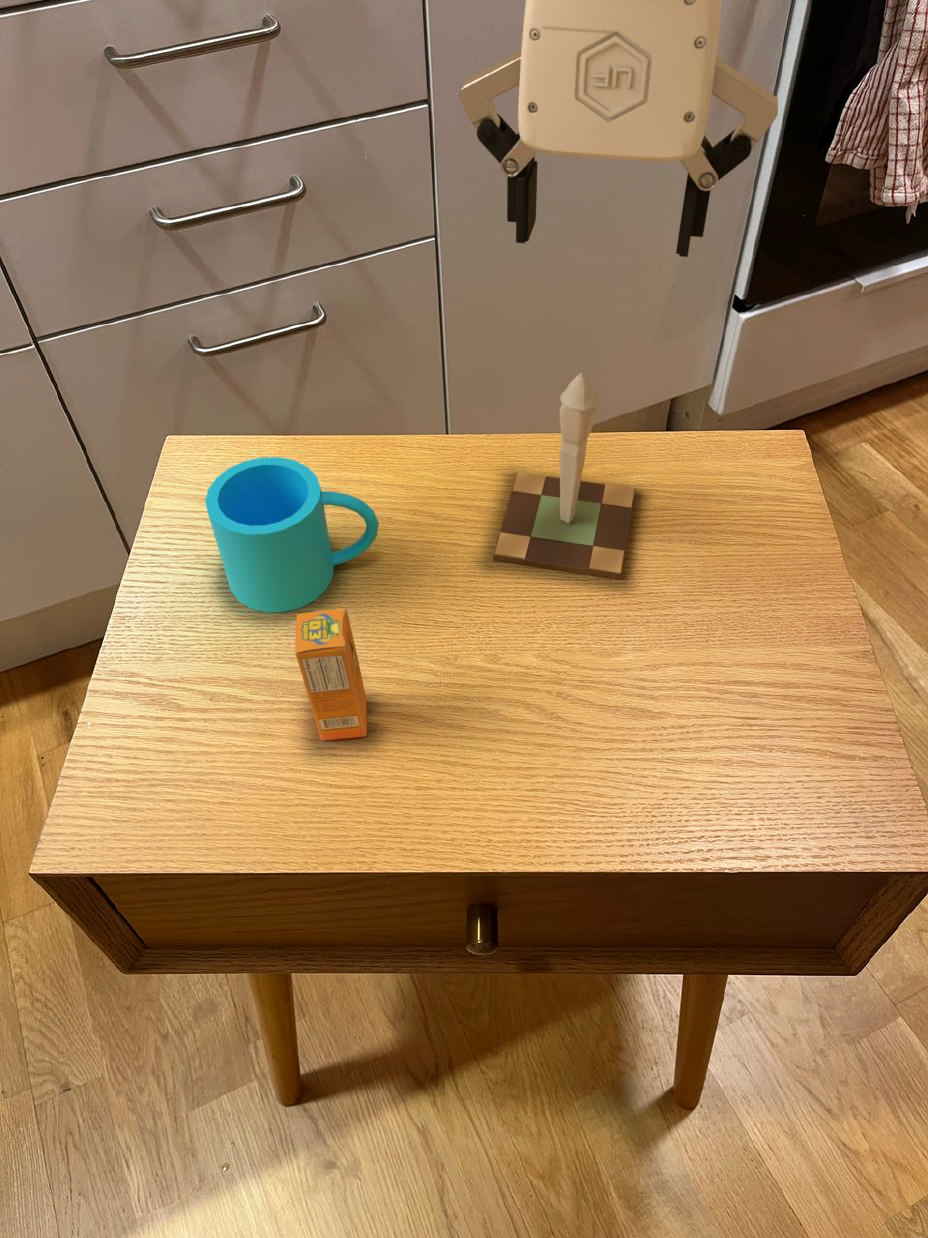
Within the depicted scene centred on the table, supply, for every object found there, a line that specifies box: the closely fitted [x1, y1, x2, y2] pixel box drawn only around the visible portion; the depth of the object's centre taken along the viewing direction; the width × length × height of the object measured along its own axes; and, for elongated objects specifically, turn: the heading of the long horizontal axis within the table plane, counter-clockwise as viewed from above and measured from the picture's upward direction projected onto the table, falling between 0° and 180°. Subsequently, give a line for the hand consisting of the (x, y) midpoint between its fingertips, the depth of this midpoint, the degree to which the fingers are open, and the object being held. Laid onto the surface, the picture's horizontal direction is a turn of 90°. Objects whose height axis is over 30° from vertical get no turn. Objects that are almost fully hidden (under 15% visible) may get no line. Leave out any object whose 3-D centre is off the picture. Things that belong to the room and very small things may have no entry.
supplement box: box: [294, 607, 368, 742], centre depth 62 cm, size 3×3×10 cm
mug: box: [204, 456, 380, 613], centre depth 72 cm, size 12×8×8 cm
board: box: [492, 471, 636, 580], centre depth 77 cm, size 10×10×1 cm
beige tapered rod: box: [559, 372, 599, 524], centre depth 72 cm, size 2×3×14 cm
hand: (603, 238), depth 59 cm, fingers open, 9 cm apart
